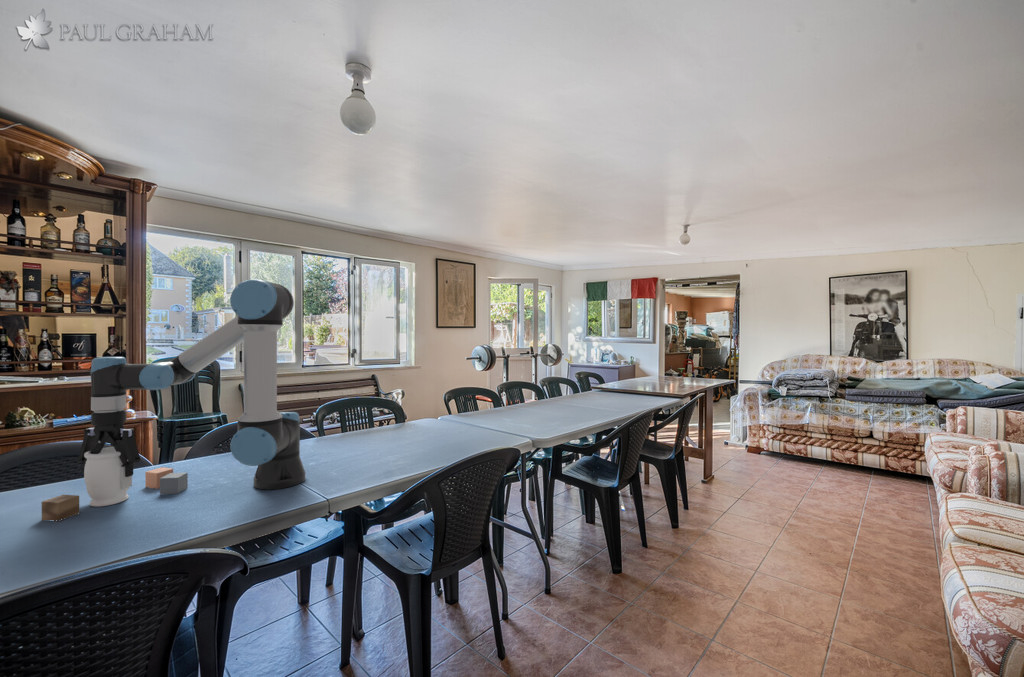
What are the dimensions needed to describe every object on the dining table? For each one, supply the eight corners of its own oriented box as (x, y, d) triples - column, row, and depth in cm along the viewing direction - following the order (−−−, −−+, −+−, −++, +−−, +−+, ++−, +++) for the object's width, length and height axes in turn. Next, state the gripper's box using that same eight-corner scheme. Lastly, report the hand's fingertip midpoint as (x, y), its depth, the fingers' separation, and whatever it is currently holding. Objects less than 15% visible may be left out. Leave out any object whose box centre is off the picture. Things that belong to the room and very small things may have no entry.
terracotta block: (173, 484, 144) (173, 468, 144) (157, 489, 139) (156, 473, 139) (162, 482, 145) (161, 467, 145) (145, 487, 140) (145, 471, 140)
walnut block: (79, 513, 120) (79, 495, 120) (58, 521, 115) (58, 502, 115) (63, 512, 121) (63, 494, 120) (41, 520, 116) (41, 501, 116)
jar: (103, 510, 122) (103, 456, 122) (74, 507, 124) (73, 453, 124) (142, 496, 133) (142, 446, 132) (114, 493, 135) (114, 444, 134)
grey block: (187, 488, 140) (187, 472, 140) (178, 493, 135) (178, 477, 135) (170, 489, 139) (170, 473, 139) (160, 494, 134) (159, 478, 134)
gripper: (156, 409, 131) (156, 484, 131) (88, 407, 133) (88, 480, 133) (131, 413, 123) (132, 493, 123) (59, 411, 126) (60, 489, 126)
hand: (109, 486), depth 128 cm, fingers closed on jar, 10 cm apart
